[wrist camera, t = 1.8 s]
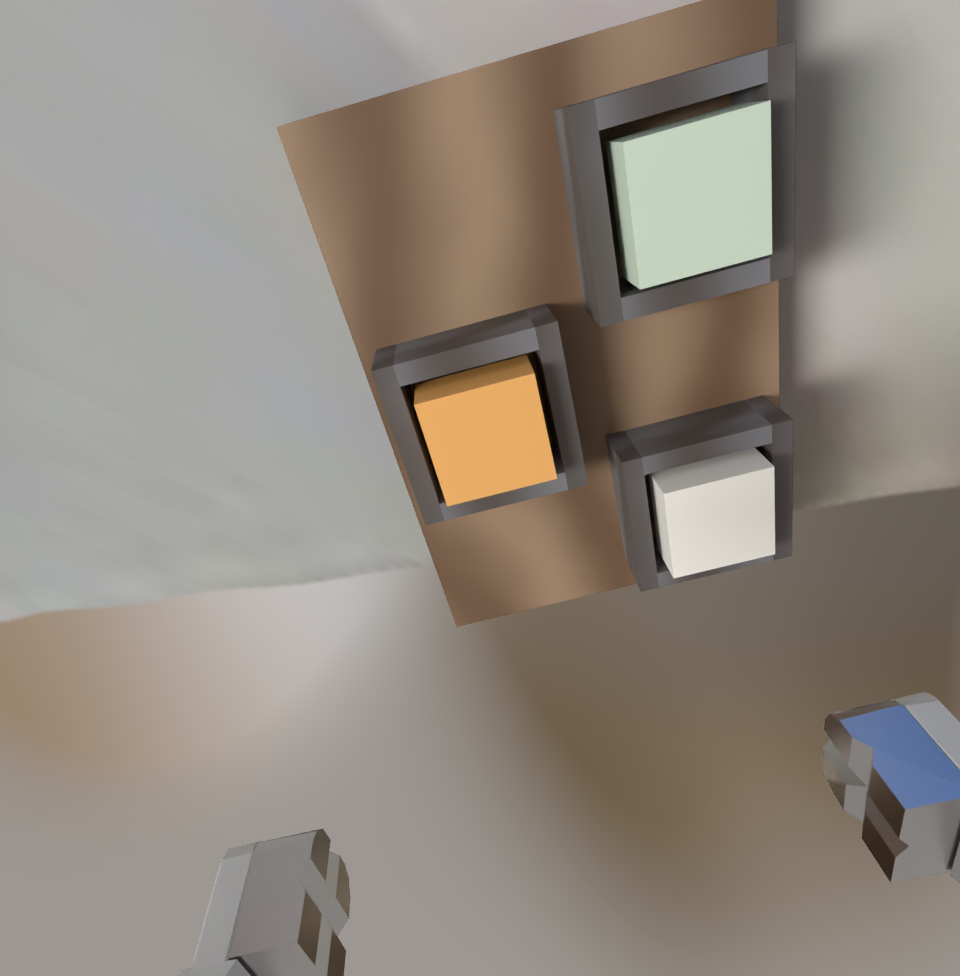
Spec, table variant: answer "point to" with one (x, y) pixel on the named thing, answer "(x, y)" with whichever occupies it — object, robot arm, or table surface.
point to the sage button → (693, 194)
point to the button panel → (558, 290)
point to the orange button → (485, 430)
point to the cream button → (714, 512)
